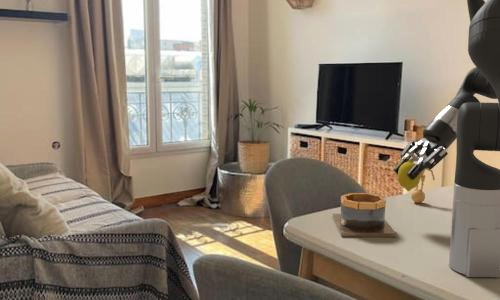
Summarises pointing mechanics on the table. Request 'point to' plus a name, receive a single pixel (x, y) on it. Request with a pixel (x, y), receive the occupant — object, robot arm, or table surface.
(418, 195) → the figurine
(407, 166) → the lemon
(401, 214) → the table surface
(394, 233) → the pot on wooden stand
